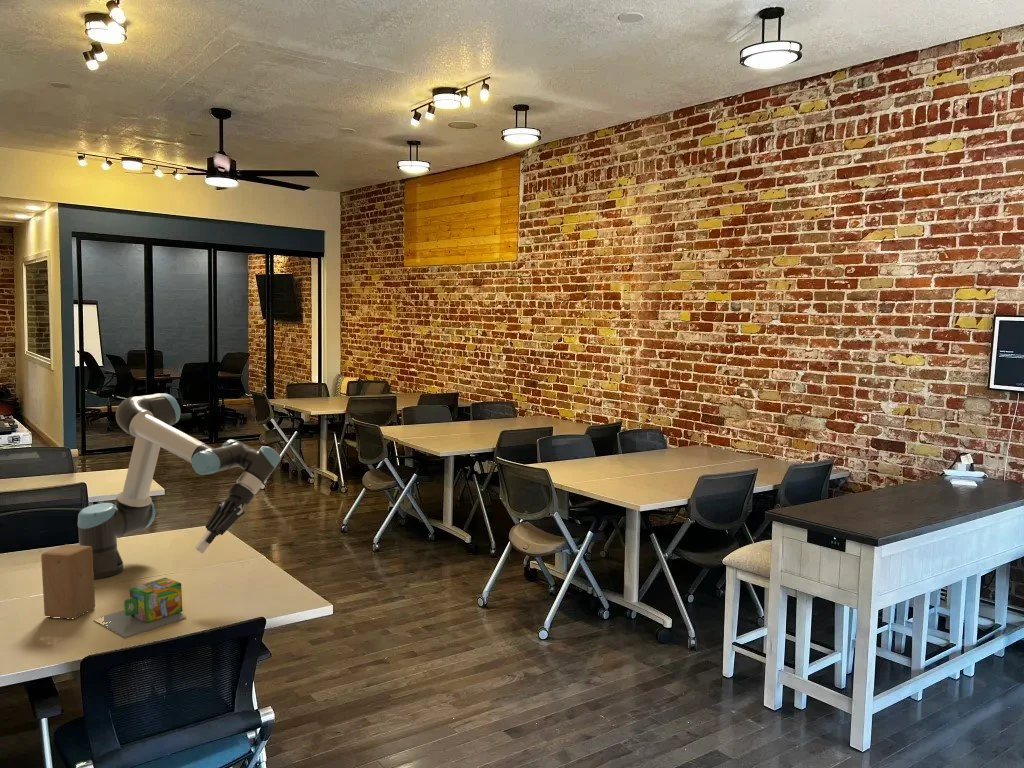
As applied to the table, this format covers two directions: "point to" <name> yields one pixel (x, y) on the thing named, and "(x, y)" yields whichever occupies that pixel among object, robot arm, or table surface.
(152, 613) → the chalk box
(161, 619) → the mat
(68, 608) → the wooden block
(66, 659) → the table surface
